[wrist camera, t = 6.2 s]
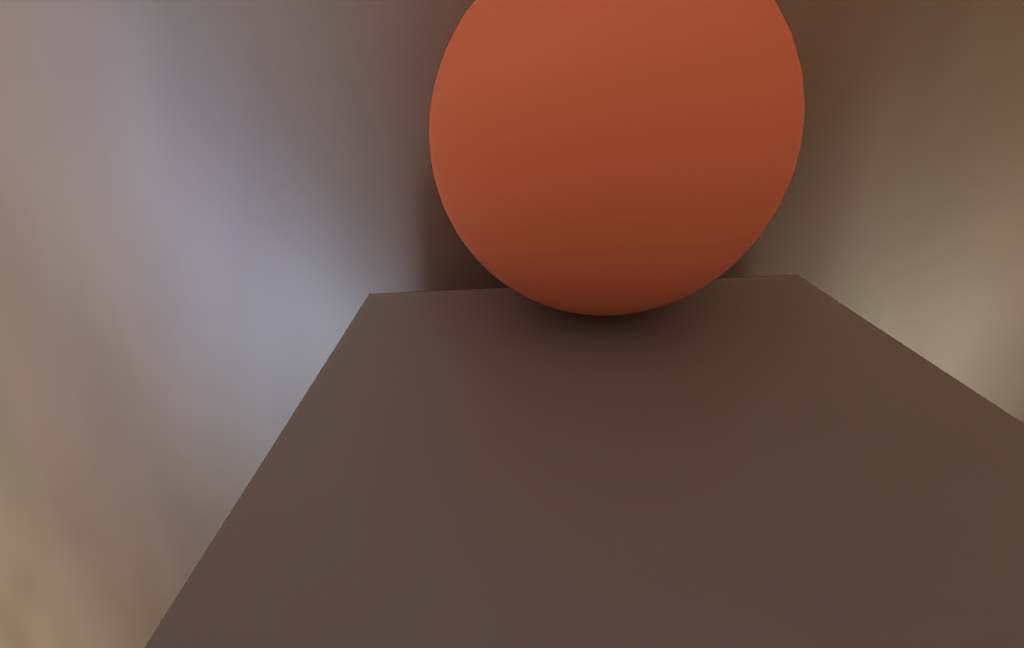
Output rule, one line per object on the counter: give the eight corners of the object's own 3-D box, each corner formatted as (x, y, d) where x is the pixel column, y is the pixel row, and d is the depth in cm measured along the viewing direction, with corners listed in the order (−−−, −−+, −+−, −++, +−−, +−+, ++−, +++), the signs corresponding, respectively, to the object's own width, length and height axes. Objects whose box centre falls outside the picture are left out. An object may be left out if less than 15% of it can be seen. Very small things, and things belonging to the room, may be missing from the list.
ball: (788, 316, 9) (1033, 9, 4) (508, 416, 8) (471, 173, 4) (649, 131, 11) (718, -182, 7) (426, 196, 10) (346, -104, 6)
